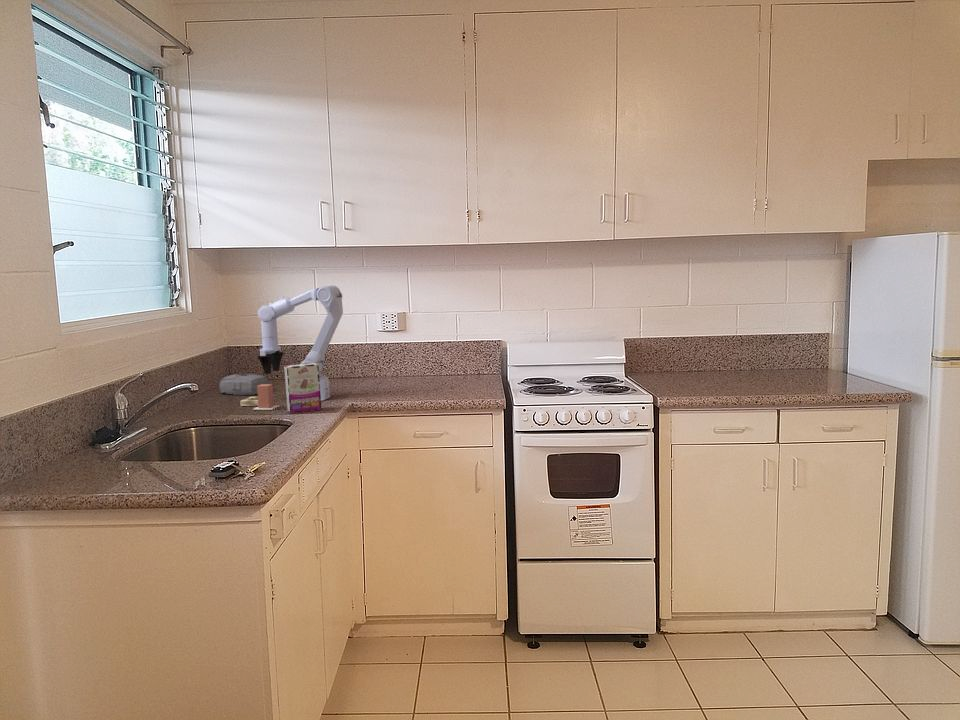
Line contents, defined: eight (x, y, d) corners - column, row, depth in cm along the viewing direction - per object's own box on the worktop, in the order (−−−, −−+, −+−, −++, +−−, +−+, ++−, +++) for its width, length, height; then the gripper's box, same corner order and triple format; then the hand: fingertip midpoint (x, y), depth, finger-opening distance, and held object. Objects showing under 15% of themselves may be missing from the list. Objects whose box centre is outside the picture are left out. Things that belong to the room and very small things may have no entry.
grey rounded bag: (274, 391, 298) (236, 388, 306) (273, 371, 297) (235, 369, 304) (249, 397, 284) (210, 395, 292) (248, 376, 283) (208, 374, 291)
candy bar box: (318, 407, 258) (315, 362, 256) (321, 410, 253) (319, 363, 251) (286, 411, 253) (283, 365, 251) (289, 413, 248) (286, 366, 246)
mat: (279, 407, 261) (279, 405, 261) (271, 410, 255) (271, 408, 255) (261, 406, 262) (260, 405, 262) (253, 410, 256) (252, 408, 256)
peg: (273, 406, 260) (272, 384, 259) (269, 408, 256) (267, 386, 255) (263, 406, 261) (261, 384, 260) (258, 408, 257) (256, 386, 256)
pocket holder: (272, 402, 271) (272, 396, 270) (262, 406, 262) (262, 400, 262) (251, 402, 272) (250, 396, 272) (240, 406, 264) (240, 400, 263)
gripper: (267, 335, 282) (270, 369, 284) (251, 339, 268) (253, 375, 270) (285, 335, 281) (287, 369, 283) (269, 338, 267) (271, 375, 269)
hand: (272, 372), depth 276 cm, fingers open, 7 cm apart
